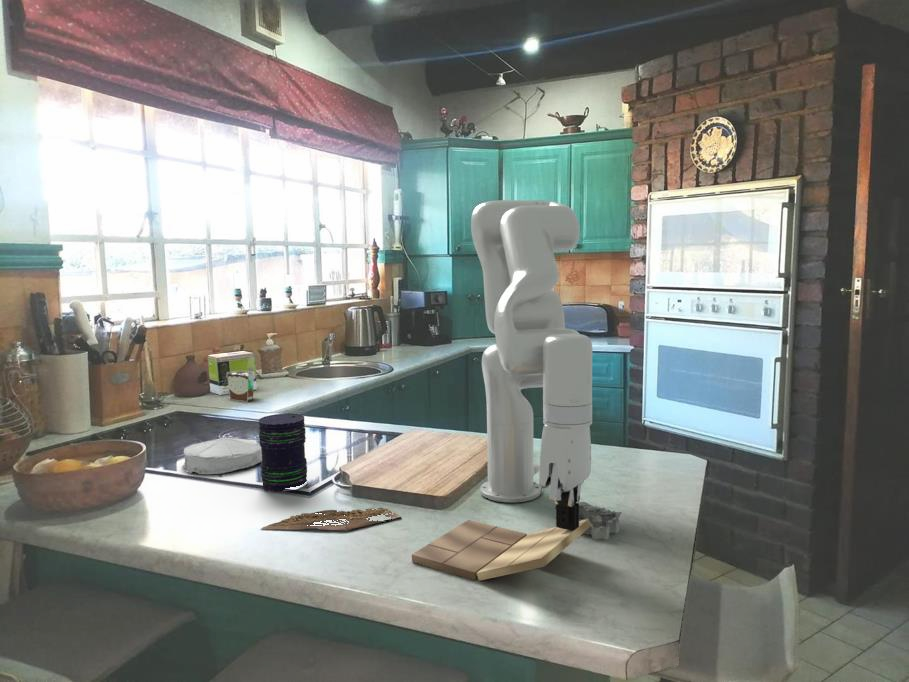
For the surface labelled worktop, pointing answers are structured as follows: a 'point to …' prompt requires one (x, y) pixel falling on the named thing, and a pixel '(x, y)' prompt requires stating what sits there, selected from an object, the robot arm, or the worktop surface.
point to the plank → (532, 551)
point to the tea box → (228, 369)
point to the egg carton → (599, 520)
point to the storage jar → (282, 451)
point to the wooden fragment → (354, 517)
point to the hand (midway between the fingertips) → (567, 527)
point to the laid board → (467, 548)
